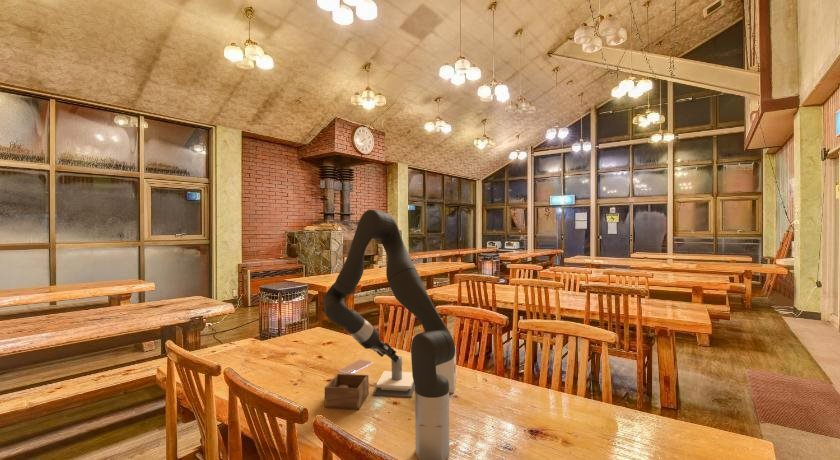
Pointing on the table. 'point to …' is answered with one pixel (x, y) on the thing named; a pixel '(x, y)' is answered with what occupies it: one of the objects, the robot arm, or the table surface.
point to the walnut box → (346, 391)
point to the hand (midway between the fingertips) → (390, 357)
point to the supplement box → (448, 372)
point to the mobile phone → (355, 367)
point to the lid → (396, 378)
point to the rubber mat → (394, 392)
